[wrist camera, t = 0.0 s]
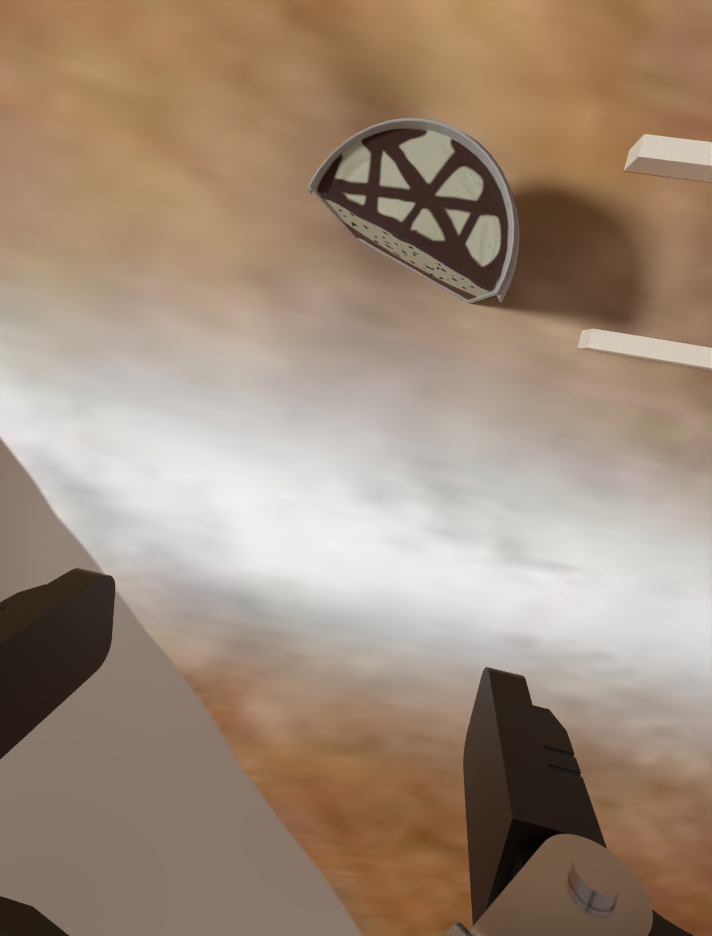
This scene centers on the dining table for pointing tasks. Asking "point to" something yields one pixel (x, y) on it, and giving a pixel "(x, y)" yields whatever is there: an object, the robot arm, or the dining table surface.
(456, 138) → the food container
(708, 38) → the dining table surface
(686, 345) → the bay
